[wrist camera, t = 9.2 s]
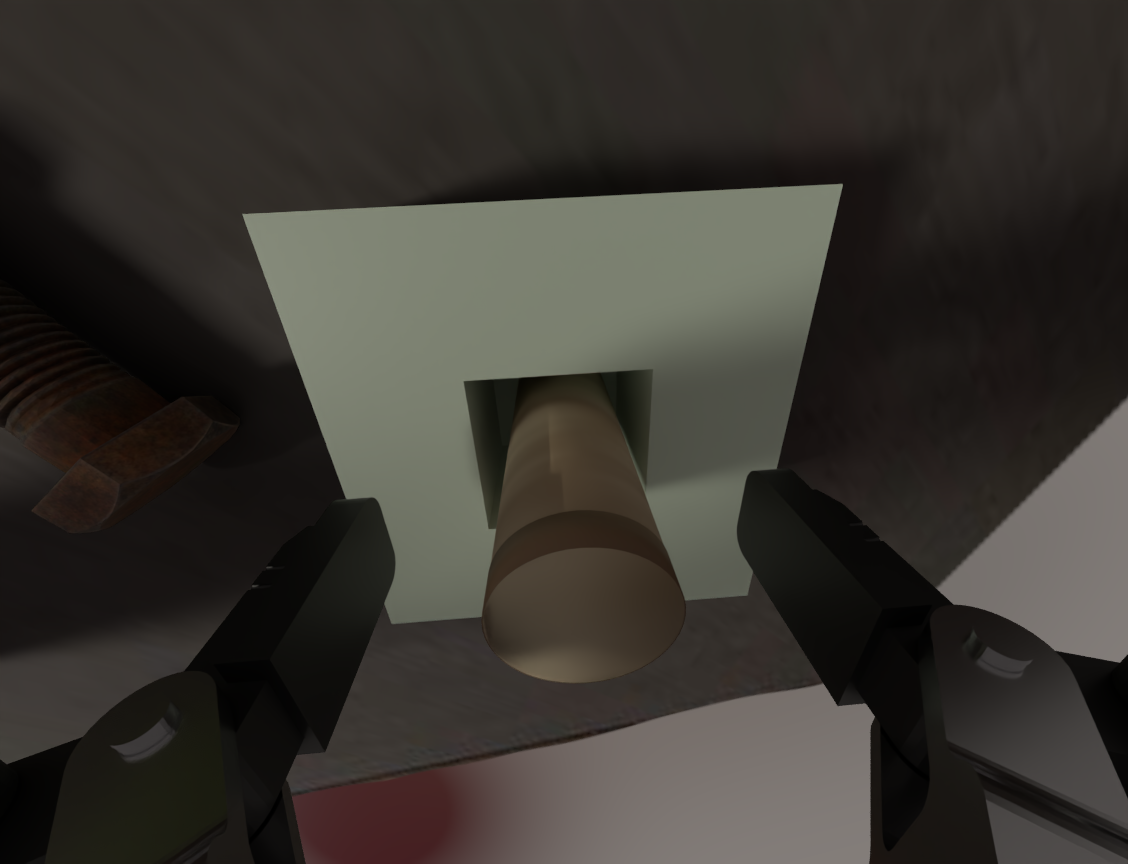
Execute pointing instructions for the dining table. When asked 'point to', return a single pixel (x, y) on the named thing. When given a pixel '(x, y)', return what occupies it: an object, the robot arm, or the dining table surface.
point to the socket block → (549, 357)
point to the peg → (576, 544)
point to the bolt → (95, 421)
